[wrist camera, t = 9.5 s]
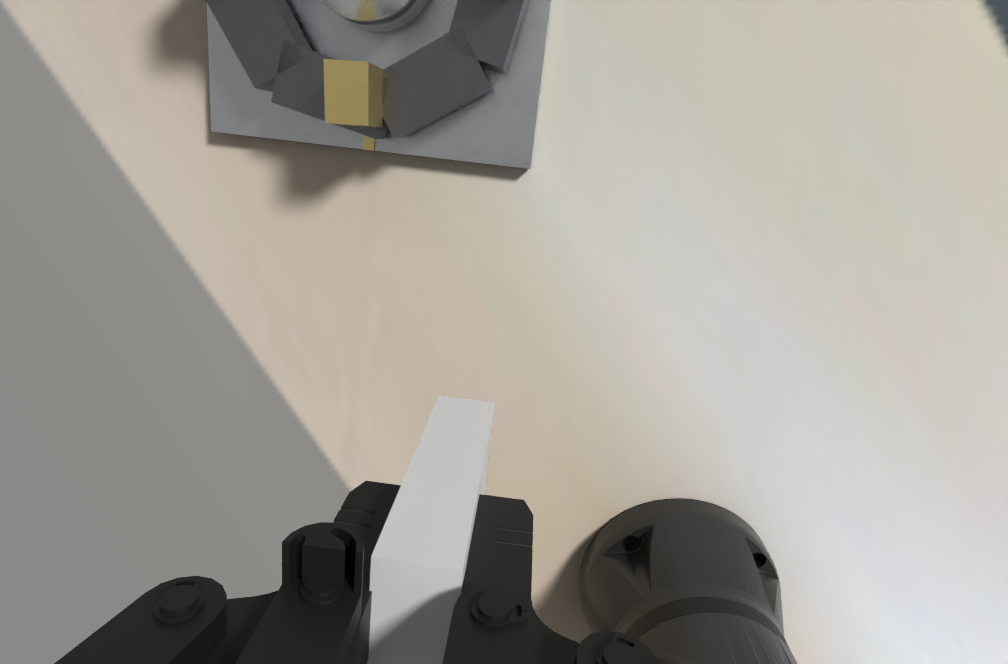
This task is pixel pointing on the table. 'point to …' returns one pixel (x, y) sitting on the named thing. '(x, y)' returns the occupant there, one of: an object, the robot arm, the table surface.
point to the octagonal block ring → (372, 66)
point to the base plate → (384, 41)
